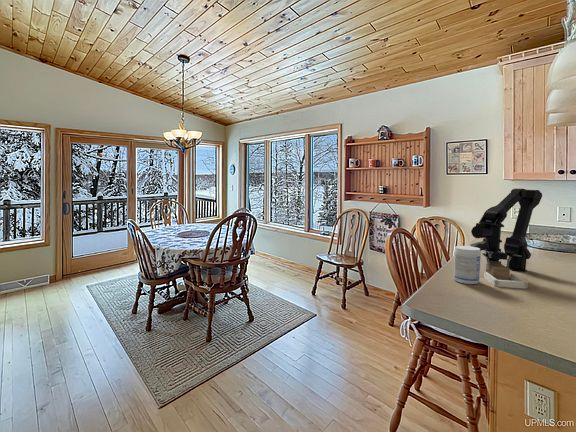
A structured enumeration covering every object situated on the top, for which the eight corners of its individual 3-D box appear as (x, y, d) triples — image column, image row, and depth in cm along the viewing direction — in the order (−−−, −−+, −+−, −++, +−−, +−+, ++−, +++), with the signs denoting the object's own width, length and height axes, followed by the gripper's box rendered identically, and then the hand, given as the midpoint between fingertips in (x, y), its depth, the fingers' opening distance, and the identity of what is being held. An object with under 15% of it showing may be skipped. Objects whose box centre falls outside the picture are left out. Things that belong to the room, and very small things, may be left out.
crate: (485, 274, 137) (486, 260, 137) (500, 275, 136) (501, 260, 135) (492, 280, 129) (493, 265, 128) (509, 281, 127) (510, 266, 126)
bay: (483, 277, 133) (484, 271, 132) (513, 279, 129) (513, 273, 129) (494, 286, 121) (495, 280, 121) (527, 288, 118) (528, 282, 118)
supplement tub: (482, 286, 121) (484, 250, 120) (456, 283, 124) (458, 249, 123) (475, 278, 131) (477, 246, 129) (451, 277, 133) (452, 244, 132)
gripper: (467, 233, 148) (465, 263, 150) (479, 239, 130) (477, 274, 132) (492, 233, 145) (490, 265, 146) (509, 241, 127) (506, 276, 129)
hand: (490, 269), depth 138 cm, fingers closed
